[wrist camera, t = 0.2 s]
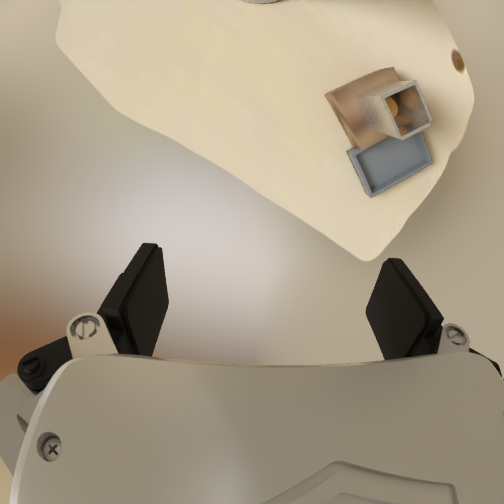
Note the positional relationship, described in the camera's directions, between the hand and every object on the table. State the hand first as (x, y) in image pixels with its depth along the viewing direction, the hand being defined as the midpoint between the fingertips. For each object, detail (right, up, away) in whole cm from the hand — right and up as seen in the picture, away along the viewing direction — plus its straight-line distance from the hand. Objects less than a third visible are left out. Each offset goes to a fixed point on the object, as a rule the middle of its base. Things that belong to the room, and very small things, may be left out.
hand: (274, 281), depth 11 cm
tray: (+24, +19, +31) cm, 44 cm away
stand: (+19, +26, +27) cm, 42 cm away
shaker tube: (+19, +23, +23) cm, 38 cm away
